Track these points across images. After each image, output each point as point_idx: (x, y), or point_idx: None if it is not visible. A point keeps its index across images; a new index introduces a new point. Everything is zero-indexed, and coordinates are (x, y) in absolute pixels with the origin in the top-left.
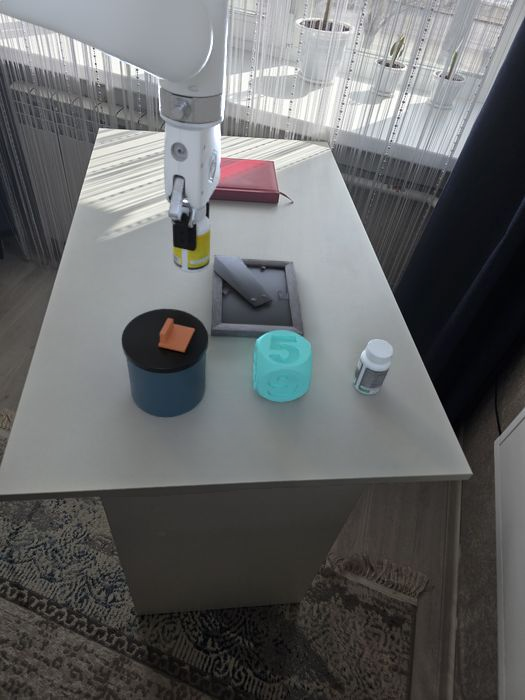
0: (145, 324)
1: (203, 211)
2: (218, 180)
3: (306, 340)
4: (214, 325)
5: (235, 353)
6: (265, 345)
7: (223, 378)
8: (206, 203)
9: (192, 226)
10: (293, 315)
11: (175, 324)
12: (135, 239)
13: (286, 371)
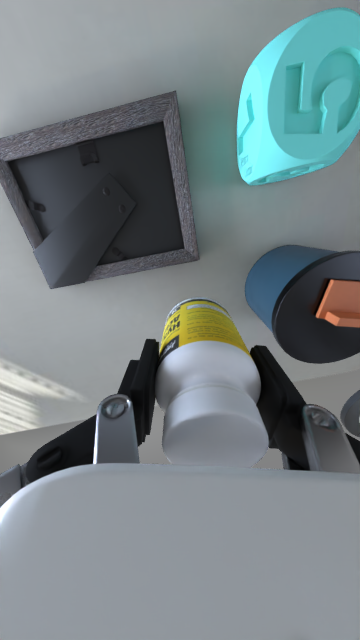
0: (309, 344)
1: (238, 407)
2: (79, 494)
3: (294, 31)
4: (191, 257)
5: (223, 218)
6: (311, 145)
7: (266, 226)
8: (138, 396)
9: (314, 407)
10: (134, 122)
11: (322, 310)
12: (65, 375)
13: None
